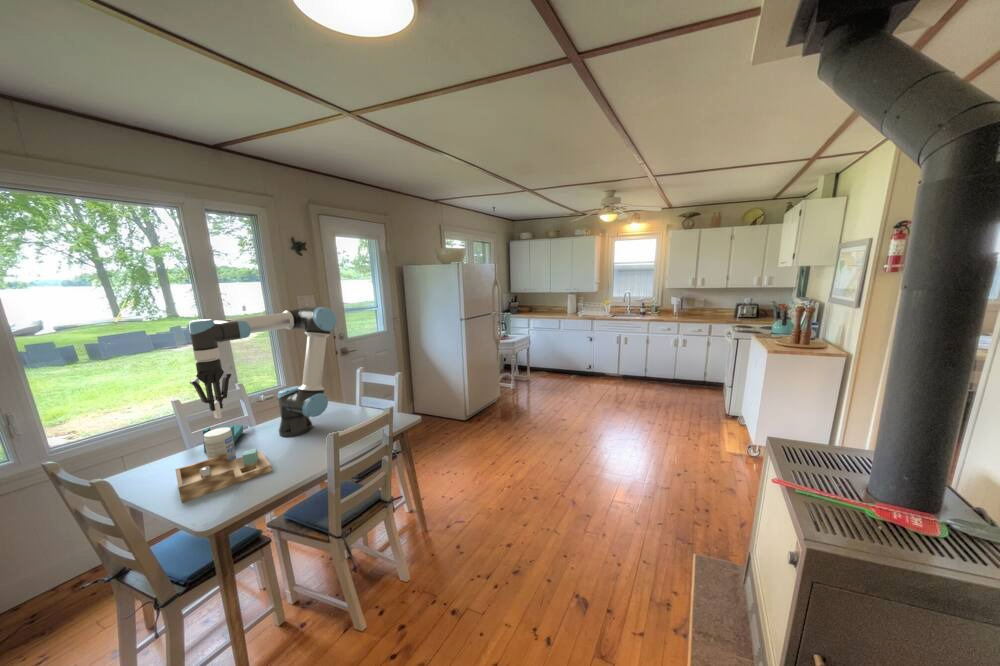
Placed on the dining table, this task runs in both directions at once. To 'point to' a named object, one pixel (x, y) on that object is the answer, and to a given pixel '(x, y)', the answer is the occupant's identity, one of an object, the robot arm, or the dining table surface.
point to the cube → (250, 456)
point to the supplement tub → (220, 443)
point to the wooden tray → (217, 475)
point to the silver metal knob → (205, 472)
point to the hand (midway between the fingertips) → (218, 417)
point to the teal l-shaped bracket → (235, 430)
